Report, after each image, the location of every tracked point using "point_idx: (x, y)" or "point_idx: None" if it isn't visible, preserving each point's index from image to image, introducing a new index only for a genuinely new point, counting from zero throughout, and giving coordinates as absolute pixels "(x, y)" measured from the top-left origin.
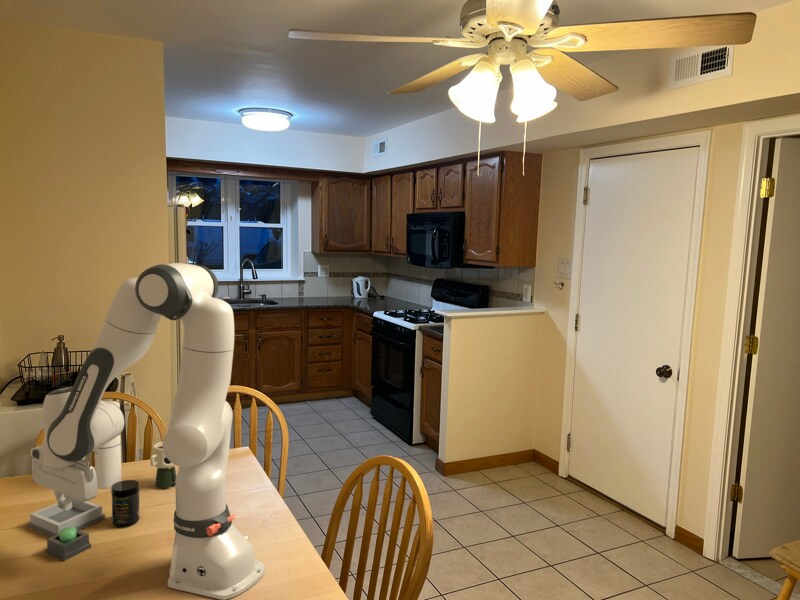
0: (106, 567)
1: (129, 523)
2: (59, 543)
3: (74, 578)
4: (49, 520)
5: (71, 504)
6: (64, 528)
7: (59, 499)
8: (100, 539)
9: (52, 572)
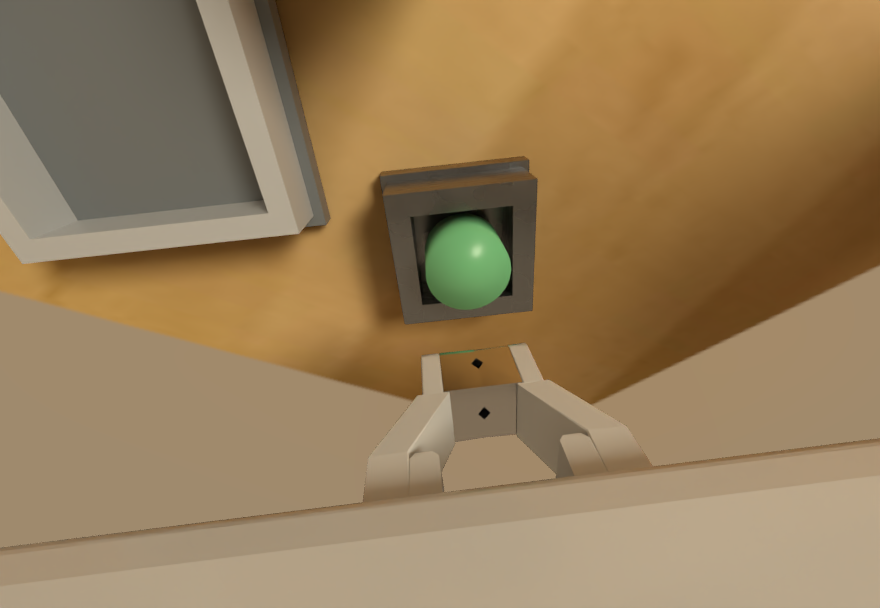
0: (721, 205)
1: None
2: (491, 309)
3: (655, 308)
4: (192, 234)
5: (534, 366)
6: (427, 272)
7: (444, 451)
8: (492, 74)
9: (552, 333)
